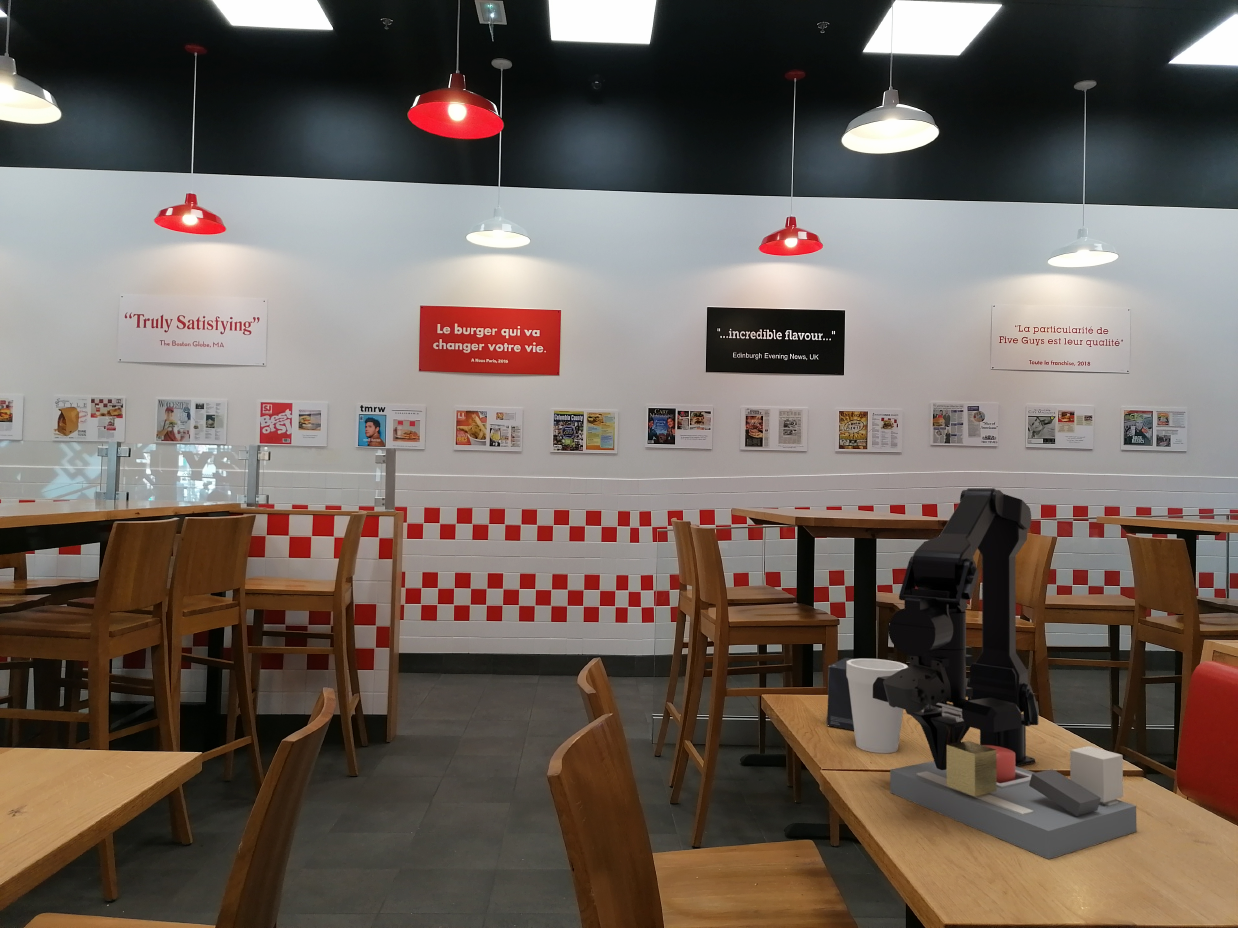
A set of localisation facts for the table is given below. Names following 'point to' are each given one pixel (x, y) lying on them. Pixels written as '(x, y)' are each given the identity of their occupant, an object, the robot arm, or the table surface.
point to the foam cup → (873, 706)
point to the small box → (839, 696)
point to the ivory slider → (1098, 772)
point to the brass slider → (971, 768)
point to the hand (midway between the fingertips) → (941, 769)
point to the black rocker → (1064, 792)
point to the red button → (1004, 764)
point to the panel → (1015, 811)
